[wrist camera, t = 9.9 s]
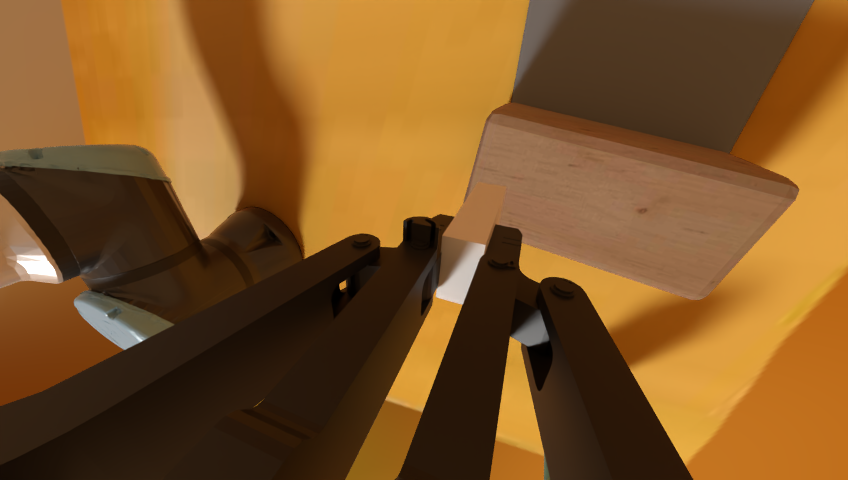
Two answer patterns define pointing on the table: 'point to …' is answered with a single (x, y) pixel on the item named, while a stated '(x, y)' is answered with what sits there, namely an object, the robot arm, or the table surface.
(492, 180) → the wooden block
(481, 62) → the table surface
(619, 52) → the mat
